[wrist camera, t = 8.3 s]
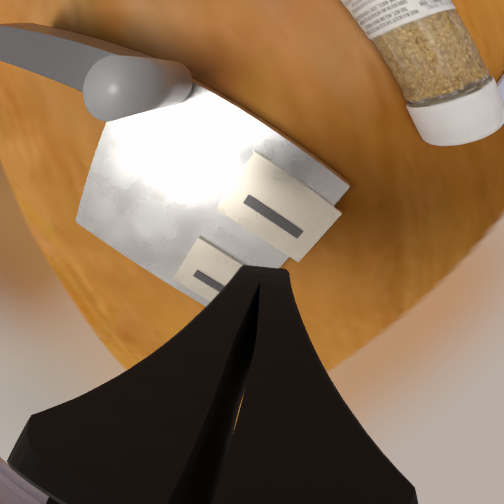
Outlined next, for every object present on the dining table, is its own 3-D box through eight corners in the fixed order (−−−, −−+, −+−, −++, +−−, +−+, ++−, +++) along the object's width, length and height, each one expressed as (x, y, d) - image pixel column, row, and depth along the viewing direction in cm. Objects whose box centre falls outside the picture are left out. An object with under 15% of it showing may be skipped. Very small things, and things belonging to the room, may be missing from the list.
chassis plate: (354, 186, 14) (359, 195, 13) (240, 313, 20) (236, 327, 19) (147, 55, 12) (135, 54, 11) (84, 214, 17) (73, 223, 16)
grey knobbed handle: (179, 113, 12) (123, 131, 8) (24, 52, 10) (-36, 62, 6) (200, 71, 11) (149, 66, 7) (36, 20, 9) (-25, 22, 5)
